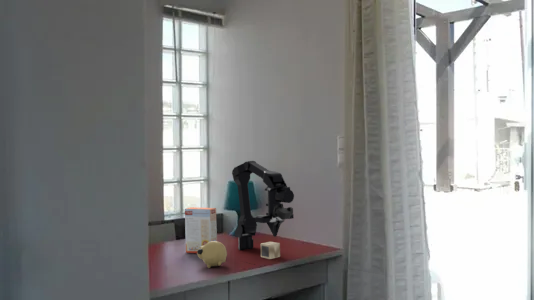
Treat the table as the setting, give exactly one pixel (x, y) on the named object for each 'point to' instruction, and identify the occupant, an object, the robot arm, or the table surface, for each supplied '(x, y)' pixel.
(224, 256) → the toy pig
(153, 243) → the table surface
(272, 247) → the birch cube
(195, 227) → the cracker box
